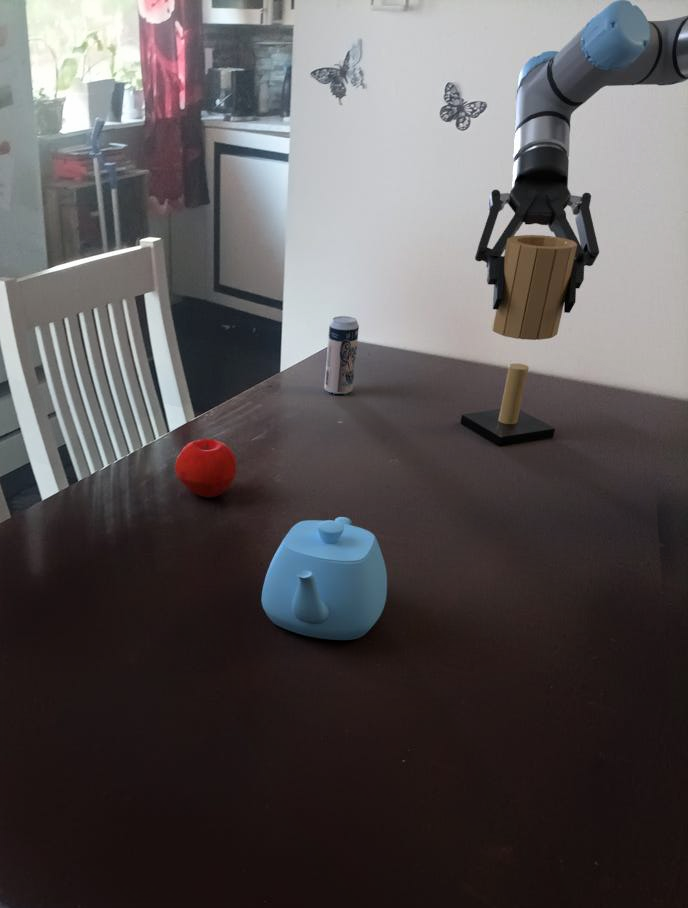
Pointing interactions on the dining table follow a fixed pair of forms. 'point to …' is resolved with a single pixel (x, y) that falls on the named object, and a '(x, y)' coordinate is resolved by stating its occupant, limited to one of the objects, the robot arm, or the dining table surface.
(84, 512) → the dining table surface
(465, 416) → the peg stand
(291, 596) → the teapot
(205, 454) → the apple
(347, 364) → the beer can
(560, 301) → the wooden cup
